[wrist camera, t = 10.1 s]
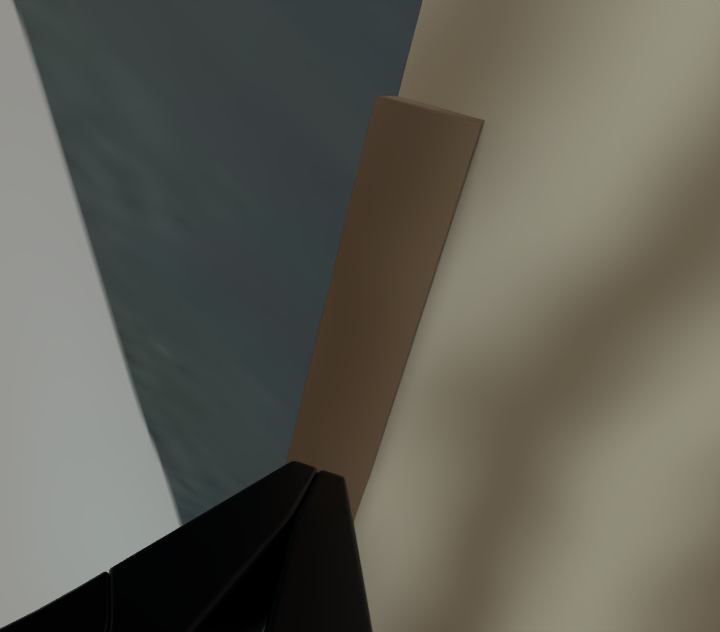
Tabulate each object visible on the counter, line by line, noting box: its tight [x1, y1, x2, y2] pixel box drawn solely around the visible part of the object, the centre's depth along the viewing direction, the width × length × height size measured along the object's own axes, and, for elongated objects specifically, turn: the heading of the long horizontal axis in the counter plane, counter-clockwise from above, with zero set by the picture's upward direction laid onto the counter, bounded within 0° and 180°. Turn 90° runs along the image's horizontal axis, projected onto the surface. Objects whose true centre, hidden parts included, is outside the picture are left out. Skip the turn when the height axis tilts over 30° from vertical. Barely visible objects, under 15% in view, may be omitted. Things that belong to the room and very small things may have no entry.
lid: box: [286, 0, 720, 632], centre depth 13 cm, size 13×23×3 cm, turn 166°
